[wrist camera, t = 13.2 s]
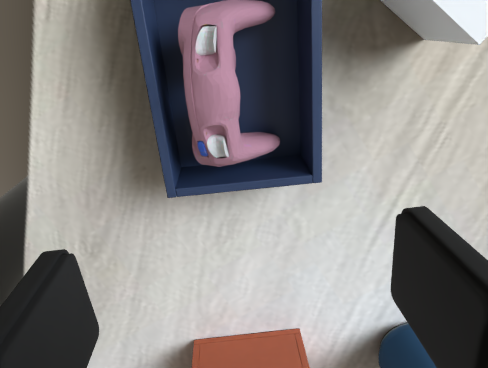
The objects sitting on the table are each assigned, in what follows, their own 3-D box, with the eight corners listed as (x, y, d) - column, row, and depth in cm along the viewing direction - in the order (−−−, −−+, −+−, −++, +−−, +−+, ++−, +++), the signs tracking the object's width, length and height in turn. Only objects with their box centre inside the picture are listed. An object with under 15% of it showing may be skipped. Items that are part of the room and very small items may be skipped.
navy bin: (175, 172, 28) (167, 198, 24) (138, -43, 23) (119, -57, 18) (307, 158, 28) (321, 182, 24) (303, -57, 23) (322, -75, 19)
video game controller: (214, 3, 25) (151, 3, 19) (279, -4, 23) (231, -6, 17) (228, 144, 29) (179, 180, 23) (284, 148, 27) (247, 188, 21)
